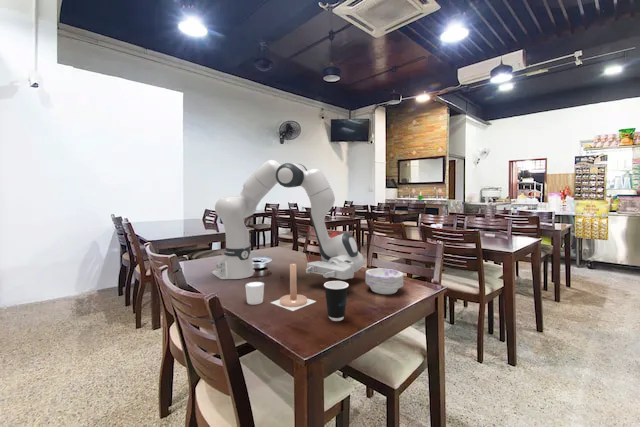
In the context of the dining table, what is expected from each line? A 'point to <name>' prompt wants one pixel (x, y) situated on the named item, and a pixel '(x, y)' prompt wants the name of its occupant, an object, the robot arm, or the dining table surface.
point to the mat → (293, 307)
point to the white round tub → (254, 292)
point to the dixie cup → (336, 299)
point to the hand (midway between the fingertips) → (315, 273)
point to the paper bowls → (384, 280)
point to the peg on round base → (293, 292)
